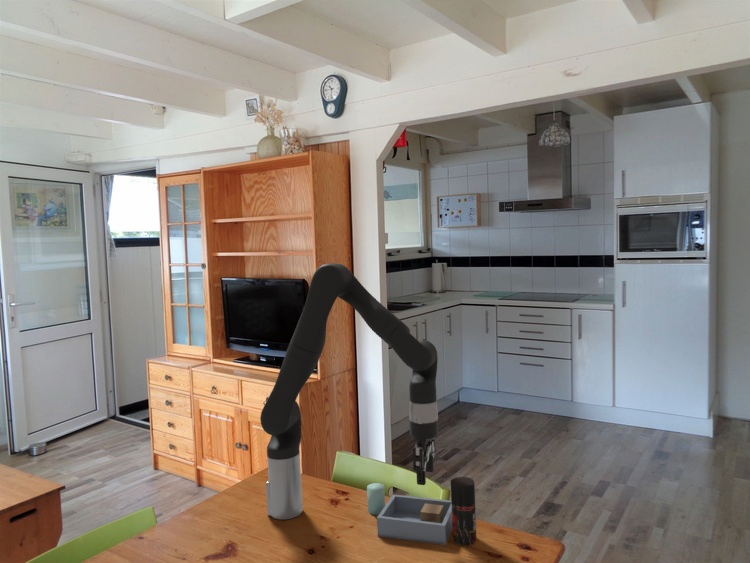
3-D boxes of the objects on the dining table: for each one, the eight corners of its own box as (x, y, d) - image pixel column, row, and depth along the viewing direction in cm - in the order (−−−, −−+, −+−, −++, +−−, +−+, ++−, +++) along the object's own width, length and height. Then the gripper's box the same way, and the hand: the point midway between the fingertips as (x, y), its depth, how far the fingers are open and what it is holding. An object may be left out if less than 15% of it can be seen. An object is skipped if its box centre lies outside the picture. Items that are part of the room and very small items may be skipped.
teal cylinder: (365, 513, 157) (364, 489, 156) (371, 505, 161) (370, 482, 161) (382, 515, 155) (381, 491, 155) (387, 507, 160) (386, 484, 159)
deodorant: (476, 546, 137) (474, 487, 136) (452, 544, 138) (449, 486, 137) (476, 534, 142) (474, 477, 142) (453, 532, 144) (451, 476, 143)
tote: (377, 536, 144) (376, 517, 144) (393, 511, 157) (393, 494, 157) (445, 545, 138) (445, 525, 137) (456, 519, 151) (455, 501, 151)
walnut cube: (421, 530, 144) (420, 511, 144) (425, 521, 149) (425, 503, 149) (439, 532, 143) (439, 514, 143) (444, 523, 147) (443, 505, 147)
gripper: (417, 409, 153) (418, 466, 154) (402, 424, 140) (404, 487, 141) (443, 410, 151) (445, 469, 151) (430, 427, 137) (432, 490, 138)
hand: (425, 477), depth 146 cm, fingers open, 8 cm apart
